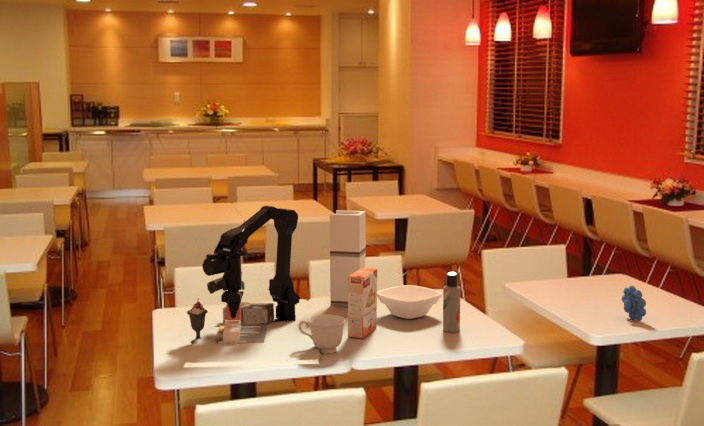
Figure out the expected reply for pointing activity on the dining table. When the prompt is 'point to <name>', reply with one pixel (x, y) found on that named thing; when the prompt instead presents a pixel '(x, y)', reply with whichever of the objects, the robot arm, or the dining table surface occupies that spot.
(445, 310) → the lotion bottle
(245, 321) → the coffee box
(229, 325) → the block
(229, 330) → the block
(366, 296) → the cracker box
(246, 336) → the panel
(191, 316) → the sundae
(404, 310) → the bowl
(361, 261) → the white banded column
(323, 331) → the teacup
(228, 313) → the orange rectangular prism
